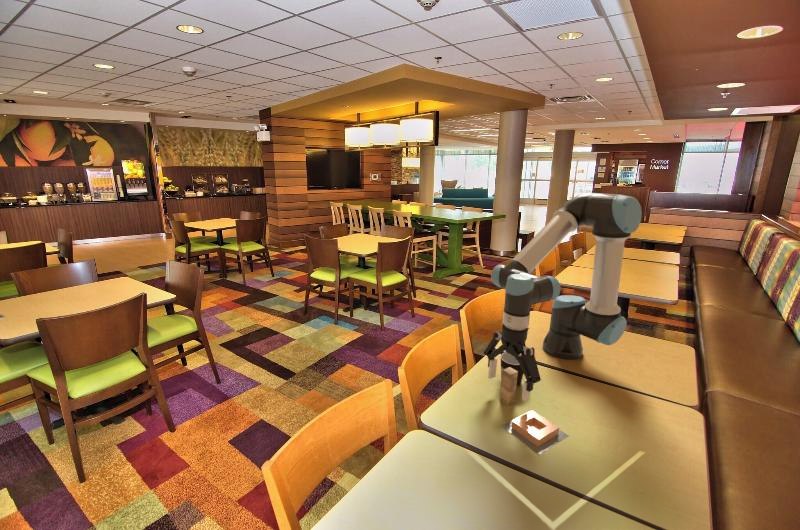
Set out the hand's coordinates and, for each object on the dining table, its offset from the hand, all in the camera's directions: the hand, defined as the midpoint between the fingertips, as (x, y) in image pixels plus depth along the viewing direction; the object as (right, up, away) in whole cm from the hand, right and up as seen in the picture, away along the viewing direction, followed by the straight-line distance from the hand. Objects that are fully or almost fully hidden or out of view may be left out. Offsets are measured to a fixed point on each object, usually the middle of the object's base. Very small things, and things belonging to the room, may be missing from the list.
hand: (507, 387), depth 118 cm
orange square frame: (+4, -9, -11) cm, 15 cm away
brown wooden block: (0, -6, +2) cm, 6 cm away
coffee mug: (+5, -3, +14) cm, 15 cm away
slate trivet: (+4, -10, -11) cm, 15 cm away
